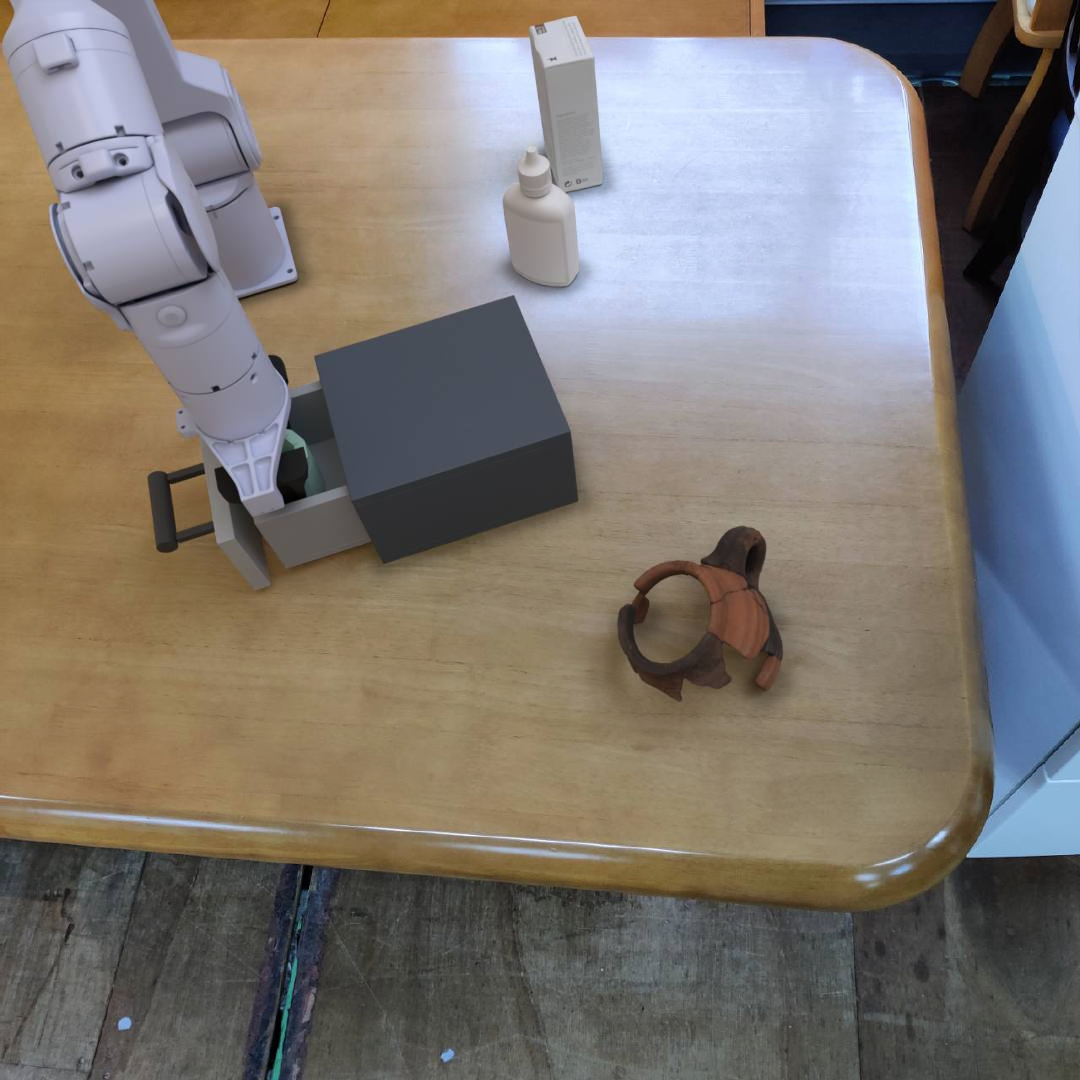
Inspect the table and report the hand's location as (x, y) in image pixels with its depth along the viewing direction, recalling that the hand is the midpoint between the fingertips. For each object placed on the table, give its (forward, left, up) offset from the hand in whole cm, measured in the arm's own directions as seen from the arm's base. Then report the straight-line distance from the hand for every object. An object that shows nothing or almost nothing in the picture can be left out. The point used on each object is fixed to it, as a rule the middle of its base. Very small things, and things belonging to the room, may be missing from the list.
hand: (287, 482), depth 66 cm
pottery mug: (+19, +24, -4) cm, 31 cm away
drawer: (0, 0, -3) cm, 3 cm away
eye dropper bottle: (-16, +24, -4) cm, 29 cm away
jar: (0, 0, -1) cm, 1 cm away
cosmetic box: (-27, +30, -4) cm, 40 cm away
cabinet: (0, +12, -4) cm, 12 cm away
